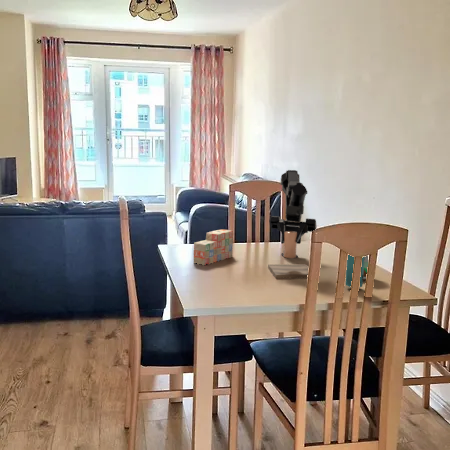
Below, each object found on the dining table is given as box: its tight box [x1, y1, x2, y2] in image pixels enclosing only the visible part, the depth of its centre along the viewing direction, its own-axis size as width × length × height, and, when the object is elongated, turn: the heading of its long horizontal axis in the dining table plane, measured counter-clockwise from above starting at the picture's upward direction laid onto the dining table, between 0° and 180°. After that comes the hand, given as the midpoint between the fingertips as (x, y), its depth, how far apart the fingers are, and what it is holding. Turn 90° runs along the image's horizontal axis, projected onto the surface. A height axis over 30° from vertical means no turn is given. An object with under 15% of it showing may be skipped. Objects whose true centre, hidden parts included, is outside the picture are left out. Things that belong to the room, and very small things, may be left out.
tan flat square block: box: [267, 263, 309, 280], centre depth 214 cm, size 16×16×2 cm
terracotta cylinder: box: [283, 231, 298, 259], centre depth 212 cm, size 5×5×10 cm
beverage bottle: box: [345, 255, 365, 288], centre depth 191 cm, size 6×7×20 cm
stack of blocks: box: [193, 229, 234, 266], centre depth 232 cm, size 21×6×12 cm, turn 146°
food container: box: [363, 256, 368, 282], centre depth 207 cm, size 12×6×10 cm, turn 168°
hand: (289, 241), depth 210 cm, fingers closed on terracotta cylinder, 5 cm apart
